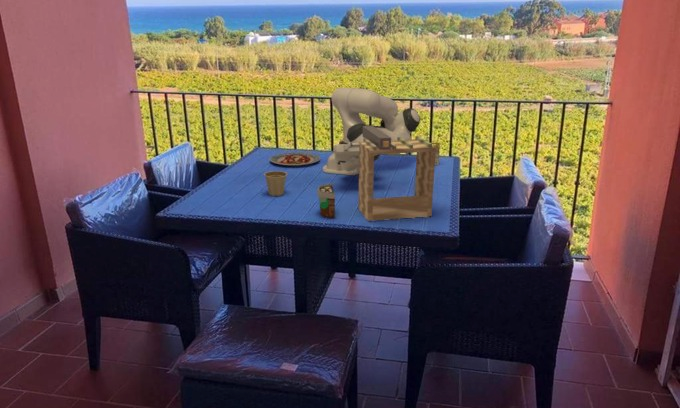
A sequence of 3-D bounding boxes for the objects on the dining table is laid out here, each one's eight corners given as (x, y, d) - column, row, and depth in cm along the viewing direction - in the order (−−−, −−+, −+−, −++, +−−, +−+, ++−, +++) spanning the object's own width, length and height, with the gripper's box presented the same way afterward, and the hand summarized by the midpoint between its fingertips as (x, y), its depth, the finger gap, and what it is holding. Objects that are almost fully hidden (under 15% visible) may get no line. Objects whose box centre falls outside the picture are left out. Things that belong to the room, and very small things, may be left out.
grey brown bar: (362, 136, 198) (362, 126, 197) (372, 136, 199) (372, 125, 197) (380, 150, 176) (380, 138, 174) (391, 149, 177) (392, 138, 175)
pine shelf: (358, 208, 197) (359, 138, 188) (417, 204, 202) (421, 135, 193) (368, 221, 184) (369, 146, 176) (431, 217, 189) (436, 143, 180)
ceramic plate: (275, 155, 279) (275, 150, 278) (323, 157, 277) (323, 151, 276) (264, 168, 255) (264, 162, 254) (316, 169, 253) (316, 163, 252)
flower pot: (291, 191, 217) (291, 172, 215) (281, 198, 209) (281, 178, 206) (271, 189, 220) (270, 170, 218) (261, 196, 212) (260, 175, 209)
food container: (316, 208, 198) (316, 183, 194) (332, 208, 198) (332, 183, 195) (317, 220, 186) (317, 193, 183) (335, 219, 186) (335, 193, 183)
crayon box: (436, 163, 263) (438, 141, 259) (438, 165, 260) (440, 142, 256) (422, 164, 262) (424, 141, 258) (424, 165, 259) (426, 143, 255)
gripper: (379, 159, 222) (388, 150, 208) (332, 162, 218) (338, 152, 204) (377, 145, 223) (386, 135, 210) (330, 147, 219) (336, 137, 205)
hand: (362, 143), depth 207 cm, fingers open, 8 cm apart
